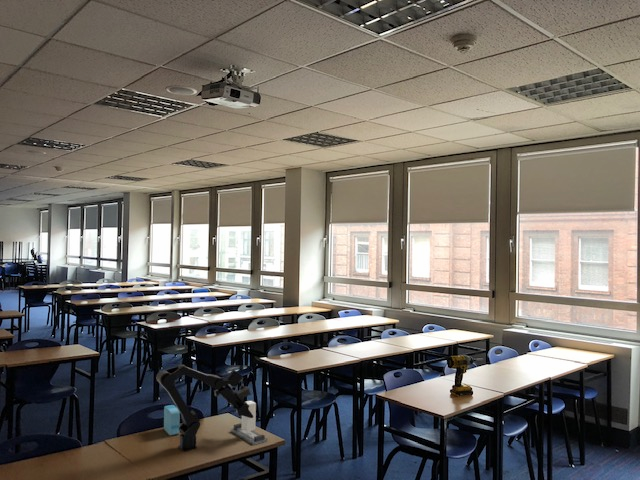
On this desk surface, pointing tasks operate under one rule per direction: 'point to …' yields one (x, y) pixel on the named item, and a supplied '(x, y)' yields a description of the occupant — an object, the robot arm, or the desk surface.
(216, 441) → the desk surface
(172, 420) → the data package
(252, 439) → the mounting plate
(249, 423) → the block
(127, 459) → the desk surface
